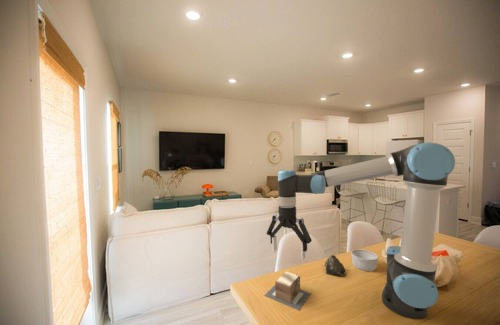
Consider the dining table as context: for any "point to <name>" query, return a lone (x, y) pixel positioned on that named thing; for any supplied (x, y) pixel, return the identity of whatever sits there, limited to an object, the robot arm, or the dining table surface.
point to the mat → (297, 301)
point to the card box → (287, 287)
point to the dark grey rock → (334, 266)
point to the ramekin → (364, 259)
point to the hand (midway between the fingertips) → (288, 254)
